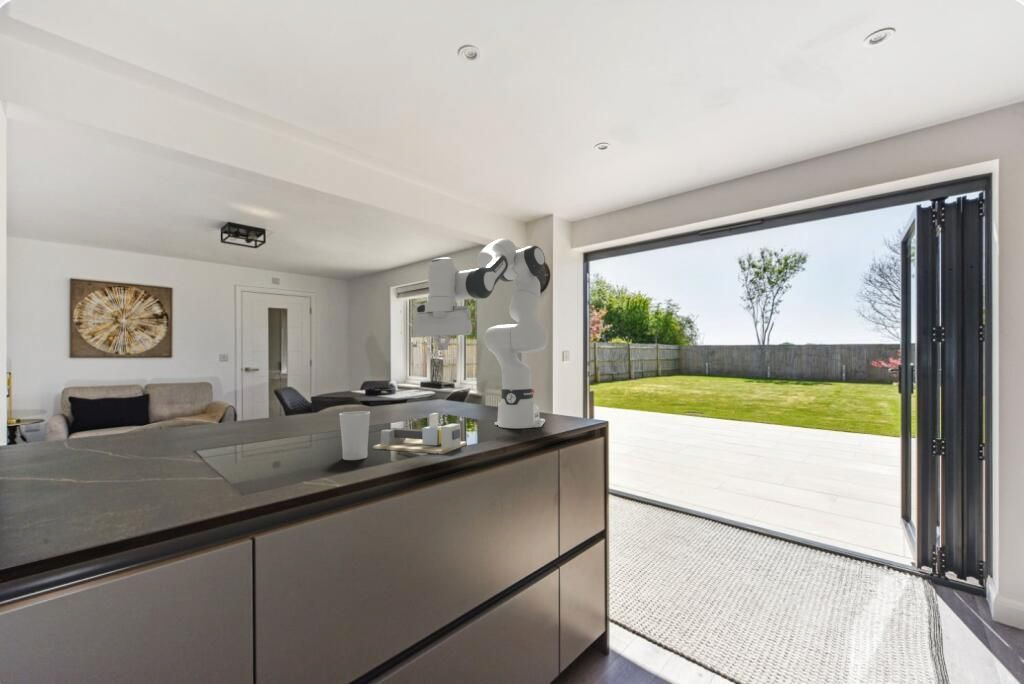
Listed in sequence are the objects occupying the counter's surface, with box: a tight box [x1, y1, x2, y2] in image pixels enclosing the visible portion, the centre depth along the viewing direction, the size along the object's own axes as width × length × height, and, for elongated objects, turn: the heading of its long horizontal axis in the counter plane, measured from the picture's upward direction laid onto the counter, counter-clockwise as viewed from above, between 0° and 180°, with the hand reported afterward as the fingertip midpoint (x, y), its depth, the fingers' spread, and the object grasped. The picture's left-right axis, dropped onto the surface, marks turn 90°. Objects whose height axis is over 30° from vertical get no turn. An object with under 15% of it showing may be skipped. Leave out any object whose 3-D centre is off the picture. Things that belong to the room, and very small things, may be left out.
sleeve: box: [421, 412, 443, 445], centre depth 133 cm, size 5×5×9 cm
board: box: [372, 438, 468, 455], centre depth 134 cm, size 24×14×1 cm, turn 68°
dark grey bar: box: [389, 427, 441, 443], centre depth 135 cm, size 20×4×4 cm, turn 68°
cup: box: [339, 410, 371, 461], centre depth 121 cm, size 8×8×12 cm
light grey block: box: [380, 426, 406, 445], centre depth 138 cm, size 3×8×4 cm, turn 158°
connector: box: [441, 423, 462, 448], centre depth 130 cm, size 4×6×6 cm, turn 158°
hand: (442, 350), depth 144 cm, fingers closed
